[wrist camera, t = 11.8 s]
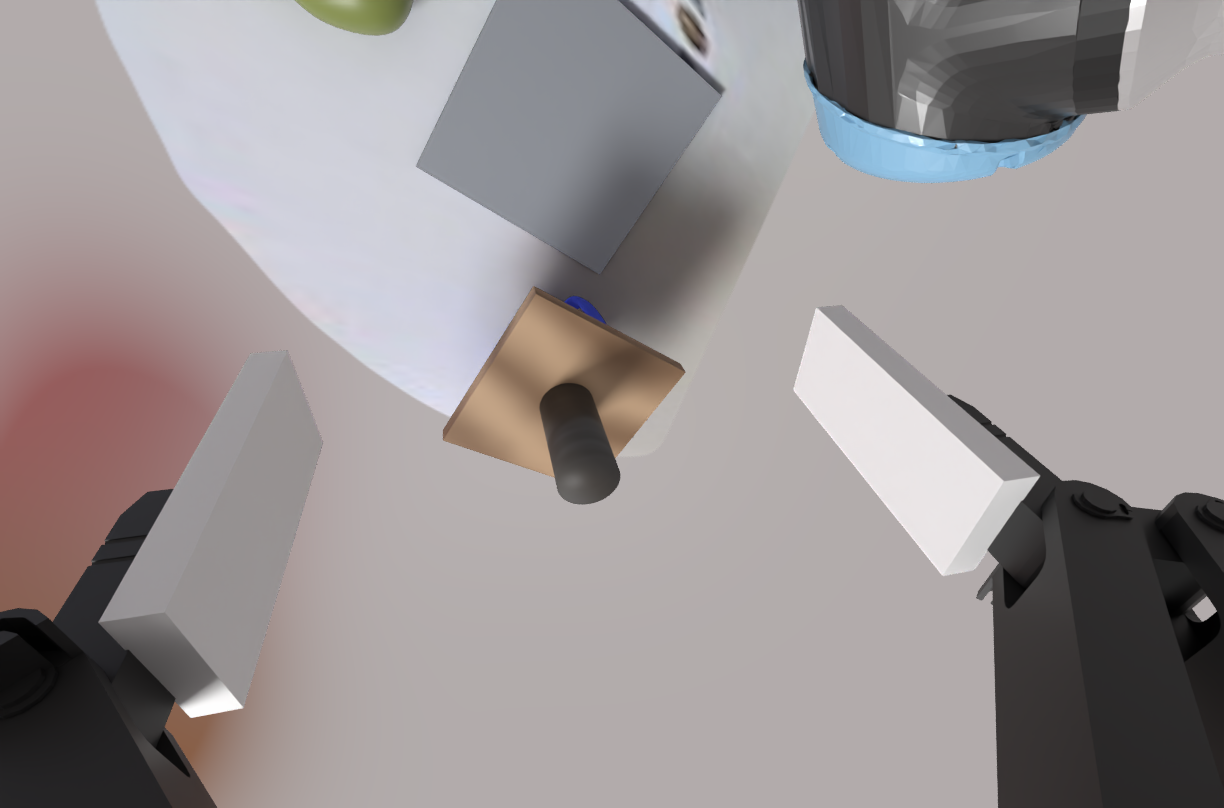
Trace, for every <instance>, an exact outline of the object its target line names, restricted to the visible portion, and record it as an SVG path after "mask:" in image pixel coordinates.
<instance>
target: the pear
mask: <svg viewBox="0 0 1224 808" xmlns="http://www.w3.org/2000/svg"><path fill="white" fill-rule="evenodd" d="M295 1H296V2H297V3H298V4H299V5H300V6H302V7H303V8H304V9H305V10H306V11H308V12H309V13H310V14H312V15H313V16H315V17H316V18H318V19H320V20H321V21H323V22H325V23H327V24H330V25H332V26H335V27H337V28H340V29H343V30H346V31H350V32H354V33H358V34H364V35H375V36H377V35H386V34H389V33H392V32H394V31H395V30H397V29H398V28H399V27H400V26H401V25H402V24H403V23H404V22H405V20H406V19H407V17H408V15H409V13H410V10H411V7H412V3H413V0H295Z"/></svg>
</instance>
